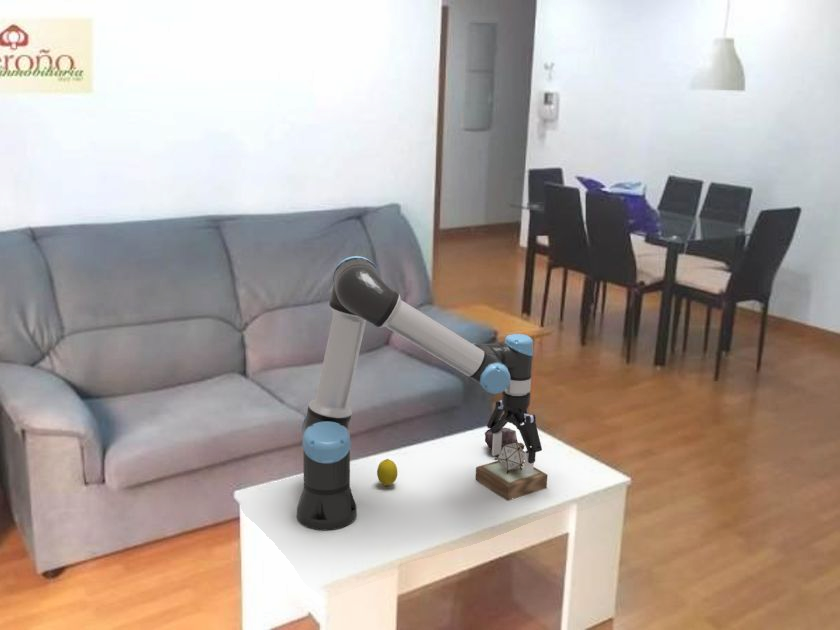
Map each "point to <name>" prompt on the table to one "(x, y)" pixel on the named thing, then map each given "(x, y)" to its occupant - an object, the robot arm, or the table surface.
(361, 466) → the table surface
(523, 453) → the game die
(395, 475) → the lemon
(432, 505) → the table surface
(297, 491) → the table surface
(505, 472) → the framed mirror
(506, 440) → the rock
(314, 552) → the table surface
